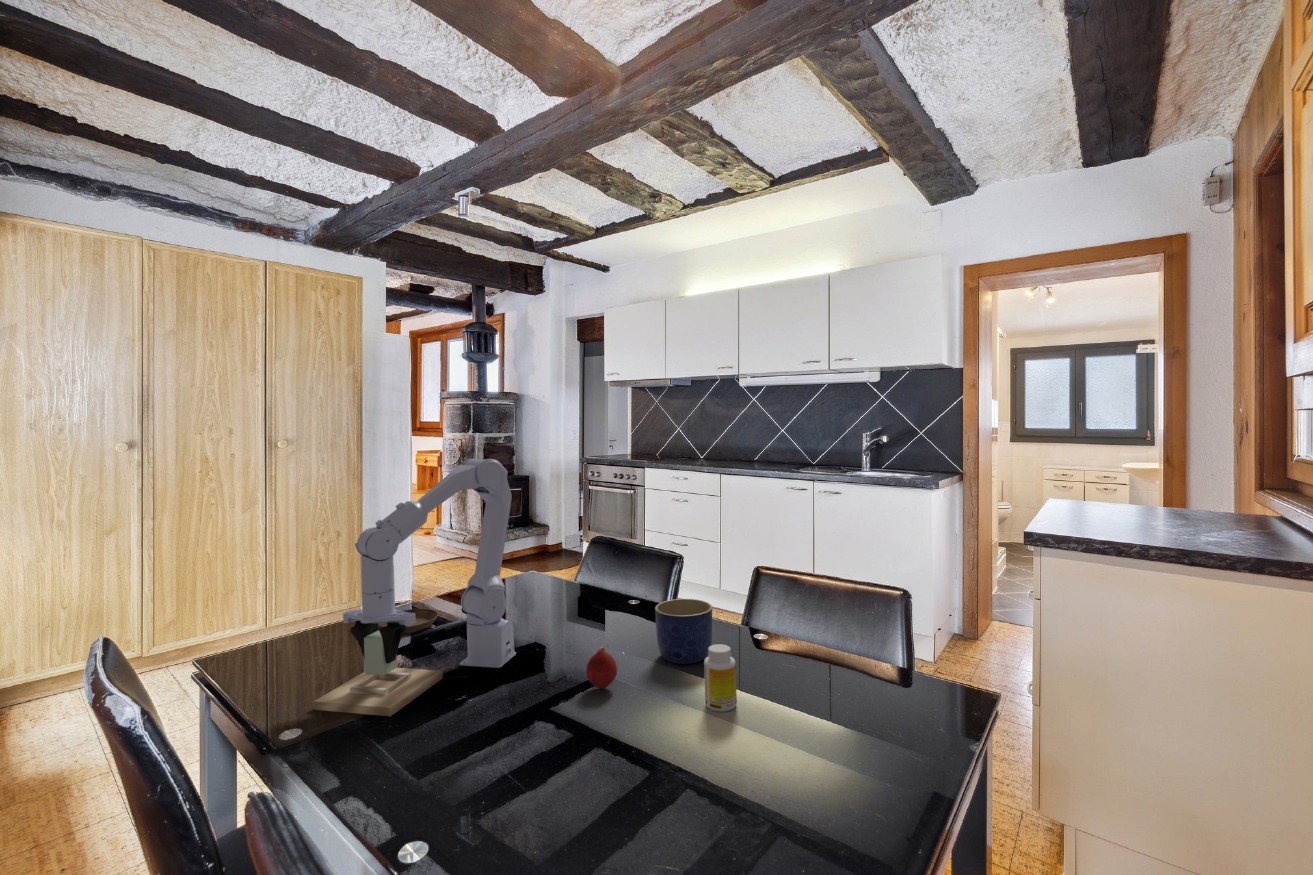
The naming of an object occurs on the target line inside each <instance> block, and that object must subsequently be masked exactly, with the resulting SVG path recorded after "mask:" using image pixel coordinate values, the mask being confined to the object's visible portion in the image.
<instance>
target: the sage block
mask: <svg viewBox="0 0 1313 875" xmlns="http://www.w3.org/2000/svg"><path fill="white" fill-rule="evenodd" d="M364 653H365V659H364V672H365V674H369V675H383V676H384V675H385V674H387V673H388V672H390V671H392V670H393V669H395V668H398V654H397V655H396V660H394V661H393V662H391V663H386V661H385V653H384V644H383V639H382V636H381V634H380V632H379V630H377V631H376V632H374V633H372V634H370V635H368V636H366V637H364Z"/></svg>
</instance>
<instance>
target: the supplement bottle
mask: <svg viewBox="0 0 1313 875" xmlns="http://www.w3.org/2000/svg"><path fill="white" fill-rule="evenodd" d="M703 665H704V666H703V668H704V669H703V670H704V672H703V673H704V698H705V699H704V700H705V705H706V707H708V709H710V710H711V711H714V712H719V713H720V712H723V713H724V712H730V711H732V710H733V709H734V708H735V707H736V706H737V703H738V699H737V698H738V697H737V671H736V670H737V669H736V666H737V665H736V659H735V658H734V657H733V656H732V650H731V647H730V646H729V645H726V644H719V643H718V644H711V646H710V647H709V648H708V656H707V657H706V658H705V659H704V661H703Z"/></svg>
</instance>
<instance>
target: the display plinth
mask: <svg viewBox="0 0 1313 875" xmlns="http://www.w3.org/2000/svg"><path fill="white" fill-rule="evenodd" d="M443 674H444V673H443V670H436V669H433V670H432V669H423V668H421V669H419V668H407V667H406V668H404V667H397V668H395V669H393V670H392V671H390V672H388V673H387V674H385V675H384V676H383V675H369V674H365V671H363V672H362V673H360V674H359V675H356V676H355V677H353V678H351V679H350V680H348V681H346V682H344V683H343V684H341V685H339V686H337V687H335V688H334V689H332V690H331V691H329V692H326V693H325V694H324V695H322V696H321V697H318V698H317V699H315V700H313V702H312V704H313V705H312V706H313V710H315V711H322V712H323V711H325V712H326V711H327V712H336V713H347V714H358V715H359V714H360V715H369V716H370V715H372V716H383V717H392V716H393V715H394V714H396V713H397V712H399V711H400V710H401V709H403V708H404V707H405V706H407V705H409V704H410V703H411V702H413V701H414V700H415V699H416V698H418V697H419V696H420V695H422V694H423V693H424V692H426V691H427V690H428V689H430V688H432V686H434V685H435V684H438V682H440V681H441V680H442V679H443V676H444V675H443Z"/></svg>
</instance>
